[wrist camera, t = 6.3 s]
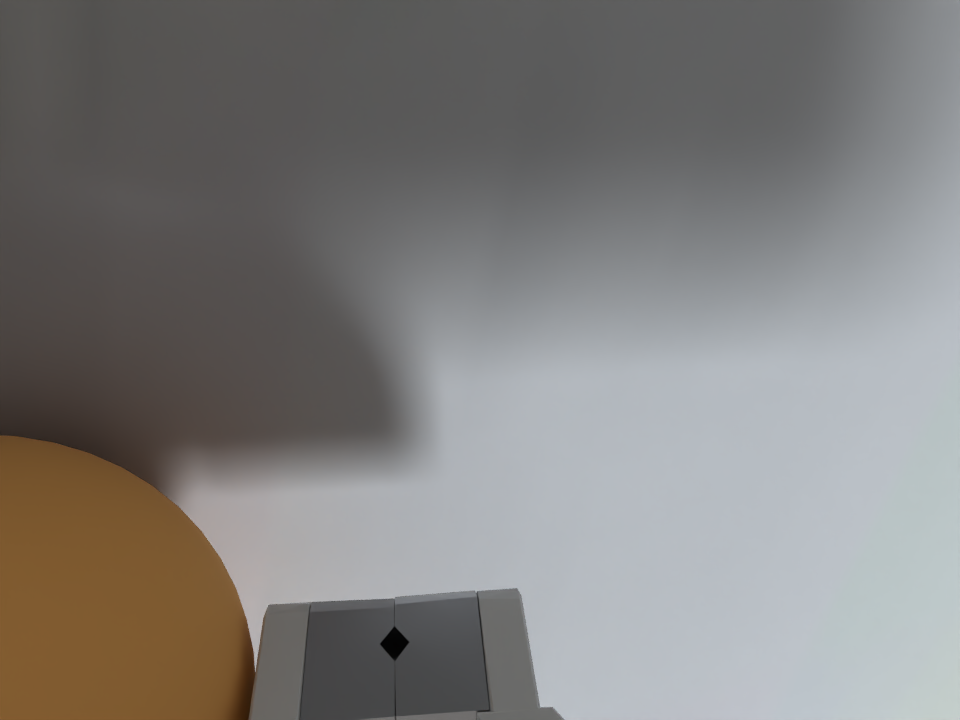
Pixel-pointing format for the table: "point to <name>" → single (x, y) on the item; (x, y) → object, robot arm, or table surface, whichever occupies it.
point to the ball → (110, 598)
